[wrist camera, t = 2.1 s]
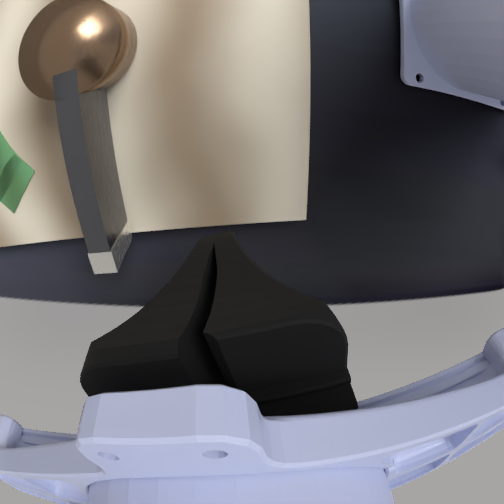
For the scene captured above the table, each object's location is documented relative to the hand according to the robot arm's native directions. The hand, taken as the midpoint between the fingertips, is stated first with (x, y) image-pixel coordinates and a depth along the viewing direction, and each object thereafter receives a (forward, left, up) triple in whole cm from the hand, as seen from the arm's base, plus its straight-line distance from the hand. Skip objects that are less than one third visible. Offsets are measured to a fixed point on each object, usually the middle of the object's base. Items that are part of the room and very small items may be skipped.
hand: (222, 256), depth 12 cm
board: (+7, -8, -4) cm, 11 cm away
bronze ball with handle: (+5, -5, -3) cm, 8 cm away
